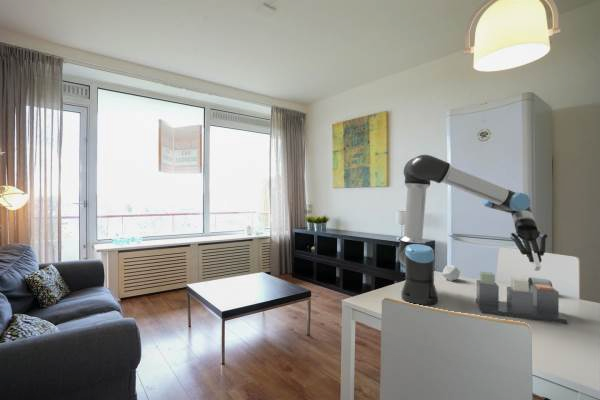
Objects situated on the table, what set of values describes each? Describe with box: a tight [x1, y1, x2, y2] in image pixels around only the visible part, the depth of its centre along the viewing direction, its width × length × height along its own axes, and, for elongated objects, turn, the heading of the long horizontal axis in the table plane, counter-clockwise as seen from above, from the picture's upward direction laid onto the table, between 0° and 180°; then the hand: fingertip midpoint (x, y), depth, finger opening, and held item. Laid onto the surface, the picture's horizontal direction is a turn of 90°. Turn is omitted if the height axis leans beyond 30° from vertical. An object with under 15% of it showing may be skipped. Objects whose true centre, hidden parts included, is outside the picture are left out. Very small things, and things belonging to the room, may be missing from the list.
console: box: [475, 279, 568, 325], centre depth 115 cm, size 26×13×10 cm, turn 68°
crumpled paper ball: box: [442, 264, 461, 282], centre depth 160 cm, size 8×9×10 cm
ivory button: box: [510, 276, 529, 292], centre depth 112 cm, size 4×4×8 cm
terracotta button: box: [535, 284, 555, 291], centre depth 114 cm, size 4×4×8 cm
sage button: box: [479, 271, 496, 285], centre depth 121 cm, size 4×4×8 cm
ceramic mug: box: [527, 276, 554, 291], centre depth 139 cm, size 10×8×7 cm
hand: (537, 268), depth 115 cm, fingers closed
